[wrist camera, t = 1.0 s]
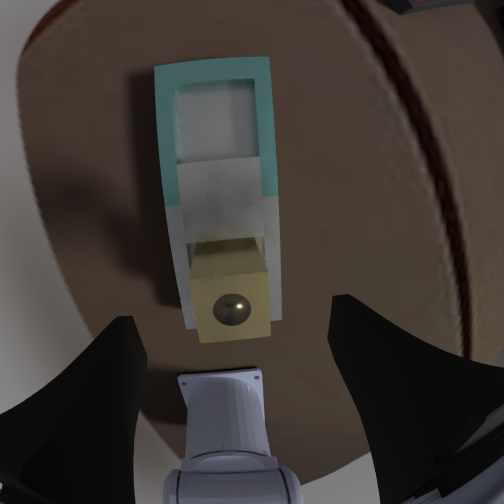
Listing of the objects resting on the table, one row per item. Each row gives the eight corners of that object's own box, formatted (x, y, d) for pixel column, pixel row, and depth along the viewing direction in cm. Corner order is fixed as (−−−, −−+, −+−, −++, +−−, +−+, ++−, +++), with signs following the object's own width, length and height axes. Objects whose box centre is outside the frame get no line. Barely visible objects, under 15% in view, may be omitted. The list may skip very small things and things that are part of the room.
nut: (257, 288, 21) (271, 336, 16) (203, 293, 21) (200, 343, 15) (253, 236, 20) (268, 271, 14) (196, 242, 20) (188, 279, 14)
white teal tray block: (274, 301, 23) (281, 319, 21) (189, 309, 23) (186, 329, 20) (262, 68, 17) (269, 56, 14) (162, 77, 16) (154, 66, 14)
